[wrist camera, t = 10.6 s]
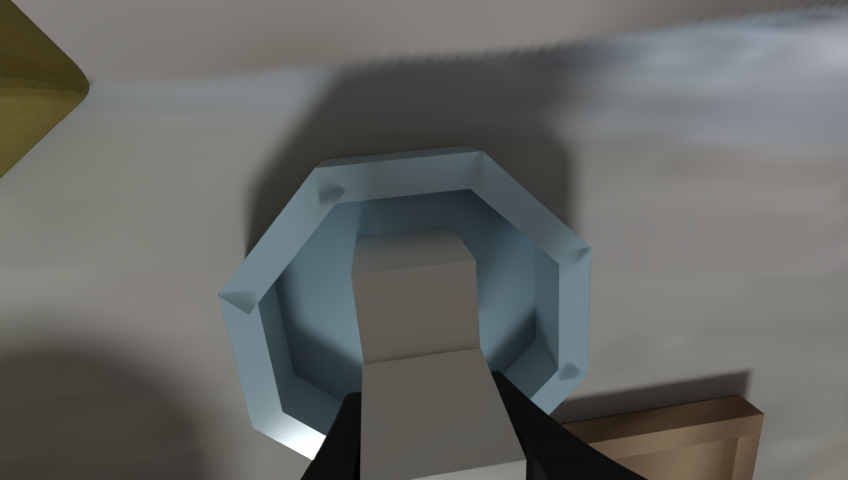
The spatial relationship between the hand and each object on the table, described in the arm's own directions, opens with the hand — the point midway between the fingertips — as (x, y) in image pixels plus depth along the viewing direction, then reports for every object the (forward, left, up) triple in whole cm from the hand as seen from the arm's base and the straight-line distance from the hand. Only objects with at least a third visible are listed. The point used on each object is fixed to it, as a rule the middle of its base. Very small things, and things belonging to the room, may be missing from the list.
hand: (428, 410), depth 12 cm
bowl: (0, -1, -4) cm, 4 cm away
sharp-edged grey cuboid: (0, 0, 0) cm, 0 cm away
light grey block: (0, -2, -3) cm, 4 cm away
